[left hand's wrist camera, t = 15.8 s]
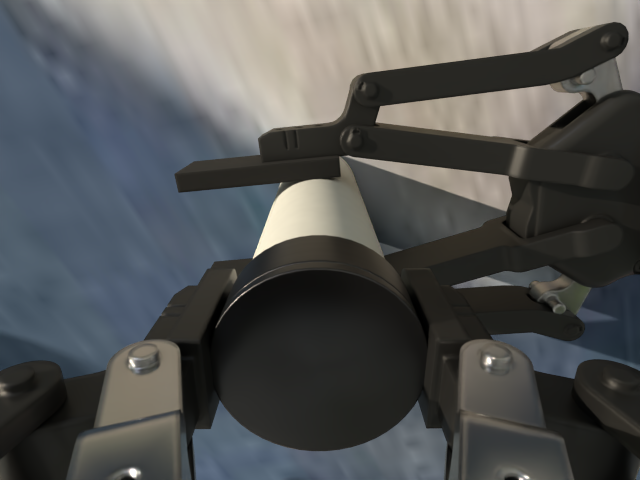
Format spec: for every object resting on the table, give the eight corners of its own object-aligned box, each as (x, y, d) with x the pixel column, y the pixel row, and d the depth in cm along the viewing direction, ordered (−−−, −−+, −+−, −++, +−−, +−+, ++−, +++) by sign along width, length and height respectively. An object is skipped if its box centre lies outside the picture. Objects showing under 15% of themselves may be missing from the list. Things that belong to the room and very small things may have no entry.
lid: (449, 297, 11) (476, 342, 9) (342, 420, 12) (346, 480, 10) (290, 196, 10) (283, 223, 8) (194, 342, 11) (169, 393, 9)
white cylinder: (330, 233, 25) (346, 449, 11) (269, 198, 25) (193, 377, 10) (369, 174, 24) (450, 325, 9) (306, 135, 23) (284, 231, 8)
